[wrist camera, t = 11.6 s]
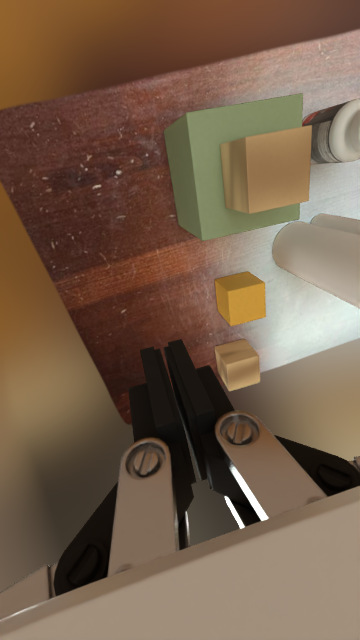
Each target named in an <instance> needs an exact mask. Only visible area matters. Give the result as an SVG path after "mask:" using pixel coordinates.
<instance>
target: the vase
mask: <svg viewBox="0 0 360 640" xmlns="http://www.w3.org/2000/svg"><path fill="white" fill-rule="evenodd" d="M272 252H273V258H274V260H275V262H276V264H277V265H278V266H279V267H281V268H283V269H285V270H287V271H288V272H290V273H292V274H294V275H296V276H298V277H300V278H302V279H304V280H306V281H308V282H310V283H311V284H313V285H315V286H317V287H319V288H321V289H323V290H325V291H327V292H329V293H331V294H333V295H335V296H336V297H338V298H340V299H342V300H344V301H346V302H348V303H350V304H352V305H354V306H356V307H358V308H359V309H360V220H357V219H351V218H345V217H340V216H334V215H328V214H319V215H317V216H315V217H314V218H313V219H312V221H311V224H309V223H305V222H293V223H290V224H288V225H286V226H285V227H284V228H282V229H281V231H280V232H279V233H278V234H277V236H276V238H275V240H274V243H273V249H272Z"/></svg>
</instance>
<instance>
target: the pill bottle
mask: <svg viewBox="0 0 360 640" xmlns="http://www.w3.org/2000/svg"><path fill="white" fill-rule="evenodd" d="M309 125H312V137H311V160H310V164H321V163H340V162H351V161H355V160H358V159H360V99H355V100H352V101H348V102H346V103H343V104H339V105H336V106H333V107H330V108H326V109H323V110H320V111H317V112H314V113H312V114H310V115H308V116H307V117H306V118H304V119H303V121H302V127H303V126H309Z"/></svg>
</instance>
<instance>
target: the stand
mask: <svg viewBox="0 0 360 640" xmlns="http://www.w3.org/2000/svg"><path fill="white" fill-rule="evenodd" d="M302 110H303V94H302V93H301V94H295V95H289V96H283V97H277V98H271V99H265V100H259V101H253V102H247V103H241V104H235V105H229V106H223V107H217V108H211V109H205V110H199V111H193V112H187V113H186V114H184V115H183V116H182V117H180V118H179V119H178V120H177V121H175V122H174V123H173V124H171V125H170V126H169V127H168V128H166V129H165V130H164V137H165V143H166V149H167V156H168V162H169V168H170V174H171V180H172V186H173V193H174V199H175V205H176V211H177V217H178V223H179V226H181V227H182V228H184V229H185V230H187V231H188V232H190V233H191V234H193V235H194V236H196V237H197V238H199V239H200V240H202V241H205V240H209V239H214V238H218V237H223V236H227V235H232V234H236V233H240V232H245V231H249V230H254V229H258V228H262V227H267V226H271V225H276V224H280V223H285V222H289V221H293V220H298V219H299V214H300V203H297V204H292V205H288V206H283V207H279V208H274V209H270V210H265V211H260V212H256V213H251V214H248V213H244V212H241V211H237V210H233V209H229V208H226V207H225V196H224V185H223V173H222V161H221V149H220V144H223V143H226V142H230V141H233V140H237V139H240V138H244V137H248V136H254V135H259V134H265V133H270V132H276V131H281V130H287V129H292V128H298V127H302Z"/></svg>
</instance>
